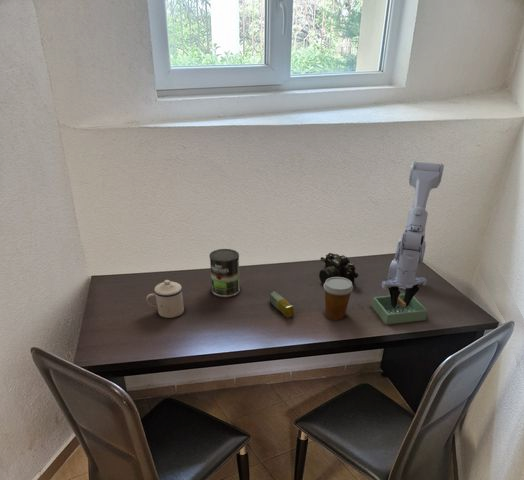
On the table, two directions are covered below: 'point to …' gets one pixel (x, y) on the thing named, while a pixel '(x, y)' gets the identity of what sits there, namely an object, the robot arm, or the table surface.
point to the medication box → (281, 304)
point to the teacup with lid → (168, 299)
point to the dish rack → (402, 305)
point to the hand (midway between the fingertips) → (399, 305)
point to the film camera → (337, 268)
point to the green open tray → (391, 318)
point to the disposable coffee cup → (337, 296)
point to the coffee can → (225, 272)
